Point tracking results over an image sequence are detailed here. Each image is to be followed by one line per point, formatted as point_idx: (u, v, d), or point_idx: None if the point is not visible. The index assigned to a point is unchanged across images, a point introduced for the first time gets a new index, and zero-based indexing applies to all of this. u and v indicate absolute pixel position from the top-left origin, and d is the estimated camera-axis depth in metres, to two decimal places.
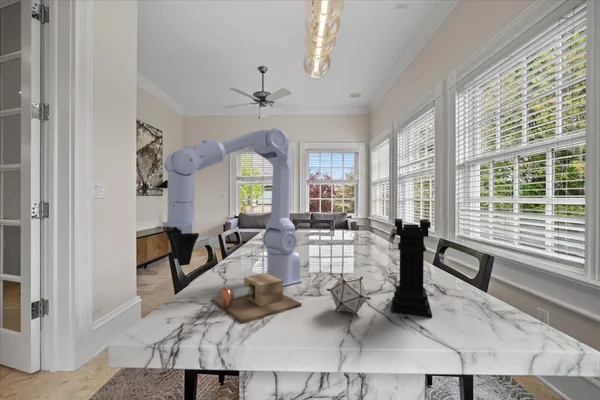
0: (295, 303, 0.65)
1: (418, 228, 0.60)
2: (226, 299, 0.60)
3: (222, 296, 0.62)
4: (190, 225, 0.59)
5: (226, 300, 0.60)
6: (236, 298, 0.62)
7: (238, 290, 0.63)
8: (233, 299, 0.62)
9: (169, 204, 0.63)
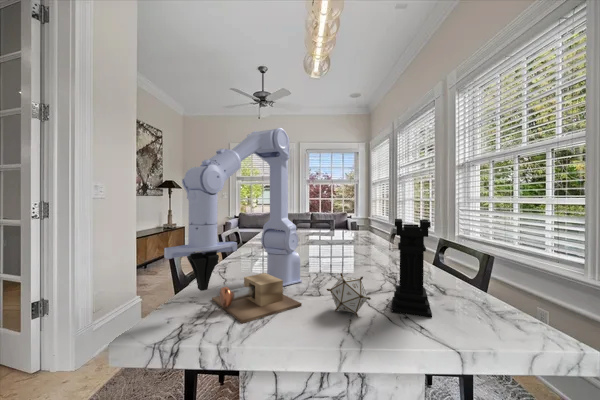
0: (295, 303, 0.65)
1: (418, 228, 0.61)
2: (226, 299, 0.60)
3: (222, 296, 0.62)
4: (165, 250, 0.54)
5: (226, 300, 0.60)
6: (236, 298, 0.62)
7: (238, 290, 0.63)
8: (233, 299, 0.62)
9: None
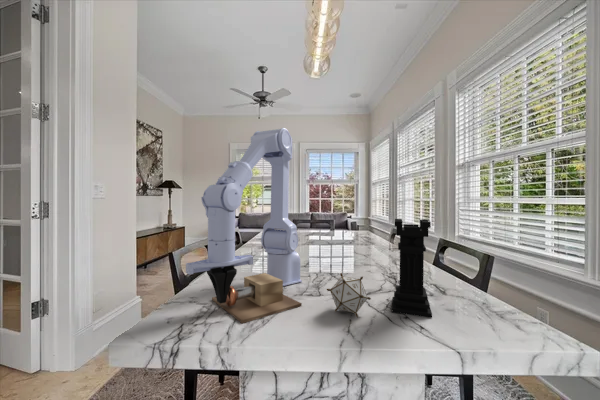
0: (295, 303, 0.65)
1: (418, 228, 0.61)
2: (231, 298, 0.61)
3: None
4: (187, 266, 0.56)
5: (231, 299, 0.61)
6: (240, 297, 0.63)
7: (242, 289, 0.64)
8: (237, 298, 0.63)
9: None
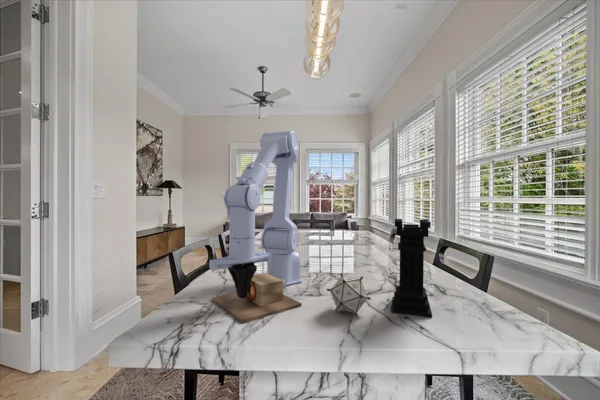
0: (295, 303, 0.65)
1: (418, 228, 0.61)
2: (251, 293, 0.64)
3: None
4: (211, 262, 0.59)
5: (251, 294, 0.64)
6: None
7: None
8: None
9: None
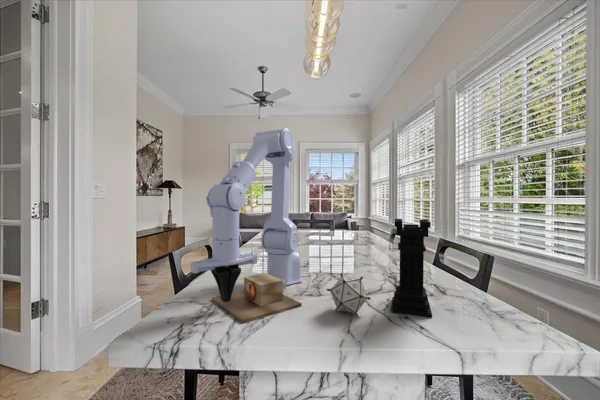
0: (295, 303, 0.65)
1: (418, 228, 0.61)
2: (251, 293, 0.64)
3: (246, 291, 0.66)
4: (192, 265, 0.57)
5: (251, 294, 0.64)
6: None
7: None
8: None
9: None
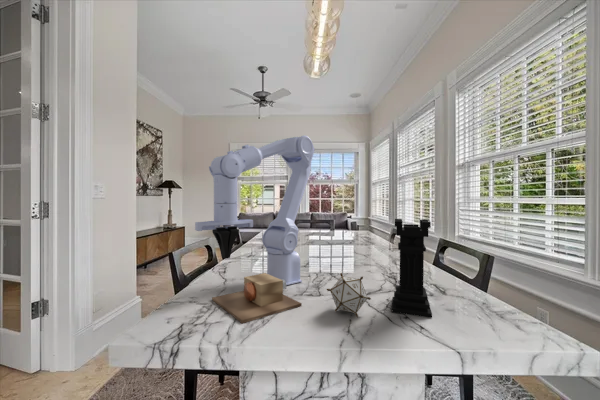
0: (295, 303, 0.65)
1: (418, 228, 0.61)
2: (251, 293, 0.64)
3: (246, 291, 0.66)
4: (197, 223, 0.65)
5: (251, 294, 0.64)
6: None
7: None
8: None
9: None
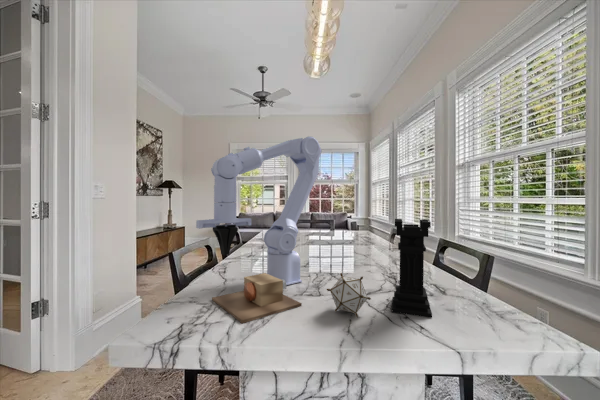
0: (295, 303, 0.65)
1: (418, 228, 0.61)
2: (251, 293, 0.64)
3: (246, 291, 0.66)
4: (198, 221, 0.69)
5: (251, 294, 0.64)
6: None
7: None
8: None
9: None
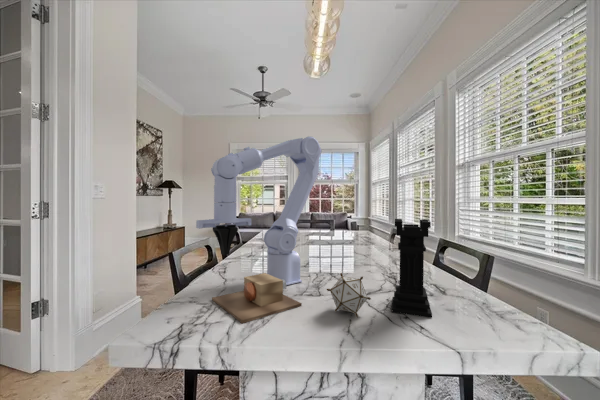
0: (295, 303, 0.65)
1: (418, 228, 0.61)
2: (251, 293, 0.64)
3: (246, 291, 0.66)
4: (198, 221, 0.69)
5: (251, 294, 0.64)
6: None
7: None
8: None
9: None
